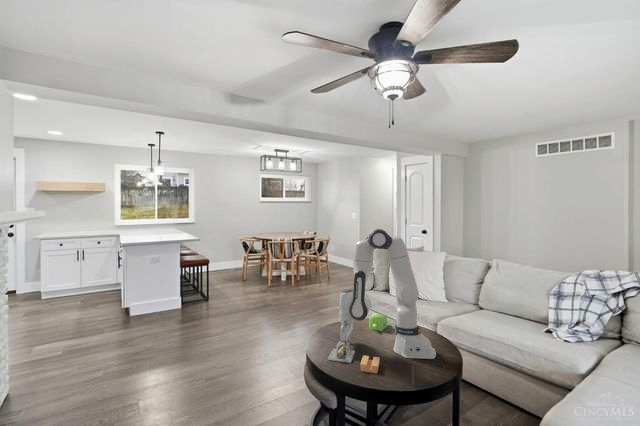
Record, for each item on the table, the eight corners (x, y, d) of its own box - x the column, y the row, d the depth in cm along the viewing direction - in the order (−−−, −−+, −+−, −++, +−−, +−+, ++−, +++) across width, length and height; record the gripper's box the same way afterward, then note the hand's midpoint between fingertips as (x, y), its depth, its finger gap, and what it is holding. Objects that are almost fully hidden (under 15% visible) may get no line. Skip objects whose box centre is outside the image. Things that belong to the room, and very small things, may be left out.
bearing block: (354, 354, 176) (354, 343, 176) (350, 364, 164) (350, 352, 164) (333, 351, 179) (333, 340, 179) (328, 361, 168) (328, 349, 168)
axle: (342, 347, 180) (341, 341, 181) (347, 347, 180) (347, 341, 180) (336, 358, 167) (336, 352, 167) (342, 358, 166) (342, 352, 166)
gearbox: (381, 336, 202) (381, 321, 202) (366, 333, 207) (366, 318, 207) (390, 327, 218) (390, 313, 218) (376, 325, 223) (376, 311, 223)
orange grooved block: (379, 365, 163) (379, 357, 163) (377, 374, 154) (377, 366, 154) (363, 363, 166) (363, 355, 166) (360, 372, 156) (360, 364, 156)
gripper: (348, 324, 175) (348, 350, 175) (355, 313, 194) (355, 336, 194) (337, 323, 176) (337, 349, 176) (345, 312, 196) (345, 335, 196)
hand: (346, 342), depth 185 cm, fingers open, 8 cm apart
